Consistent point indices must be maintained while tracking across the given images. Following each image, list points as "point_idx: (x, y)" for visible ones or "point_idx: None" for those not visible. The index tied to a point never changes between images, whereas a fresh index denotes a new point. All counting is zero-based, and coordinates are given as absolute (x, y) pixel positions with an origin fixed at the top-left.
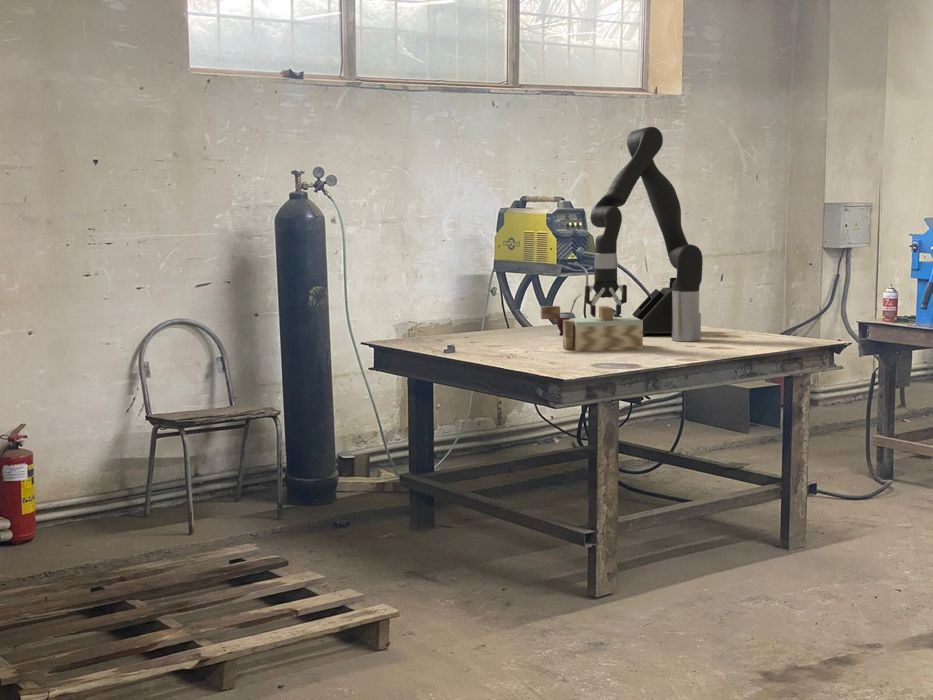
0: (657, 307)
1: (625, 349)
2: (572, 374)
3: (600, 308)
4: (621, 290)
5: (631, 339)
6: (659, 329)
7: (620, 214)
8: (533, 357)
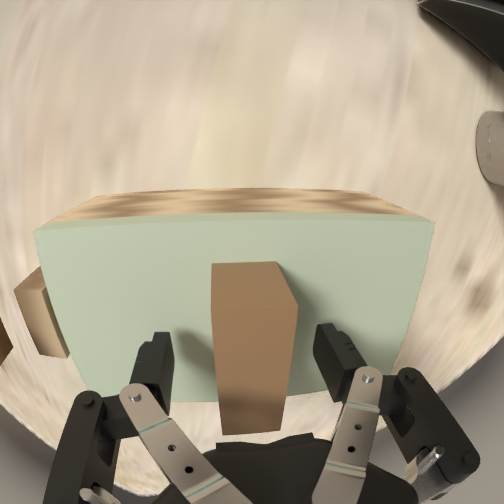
0: None
1: None
2: (142, 486)
3: (214, 356)
4: (411, 468)
5: None
6: (476, 39)
7: None
8: (40, 380)
